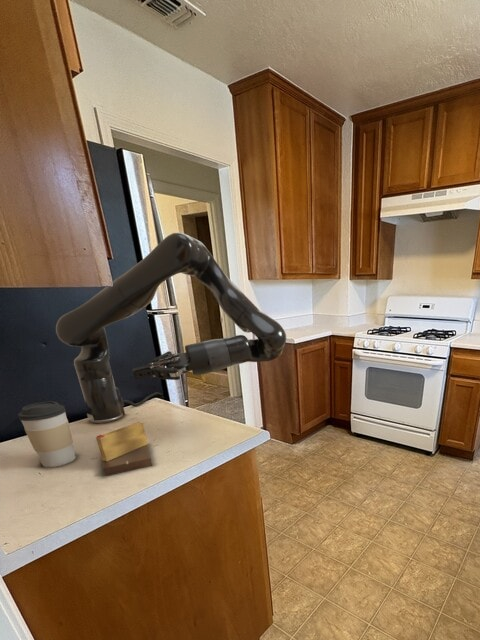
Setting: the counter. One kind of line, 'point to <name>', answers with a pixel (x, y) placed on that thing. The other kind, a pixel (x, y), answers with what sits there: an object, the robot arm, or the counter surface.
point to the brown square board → (128, 461)
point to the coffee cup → (48, 432)
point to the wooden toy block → (121, 441)
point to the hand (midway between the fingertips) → (133, 374)
